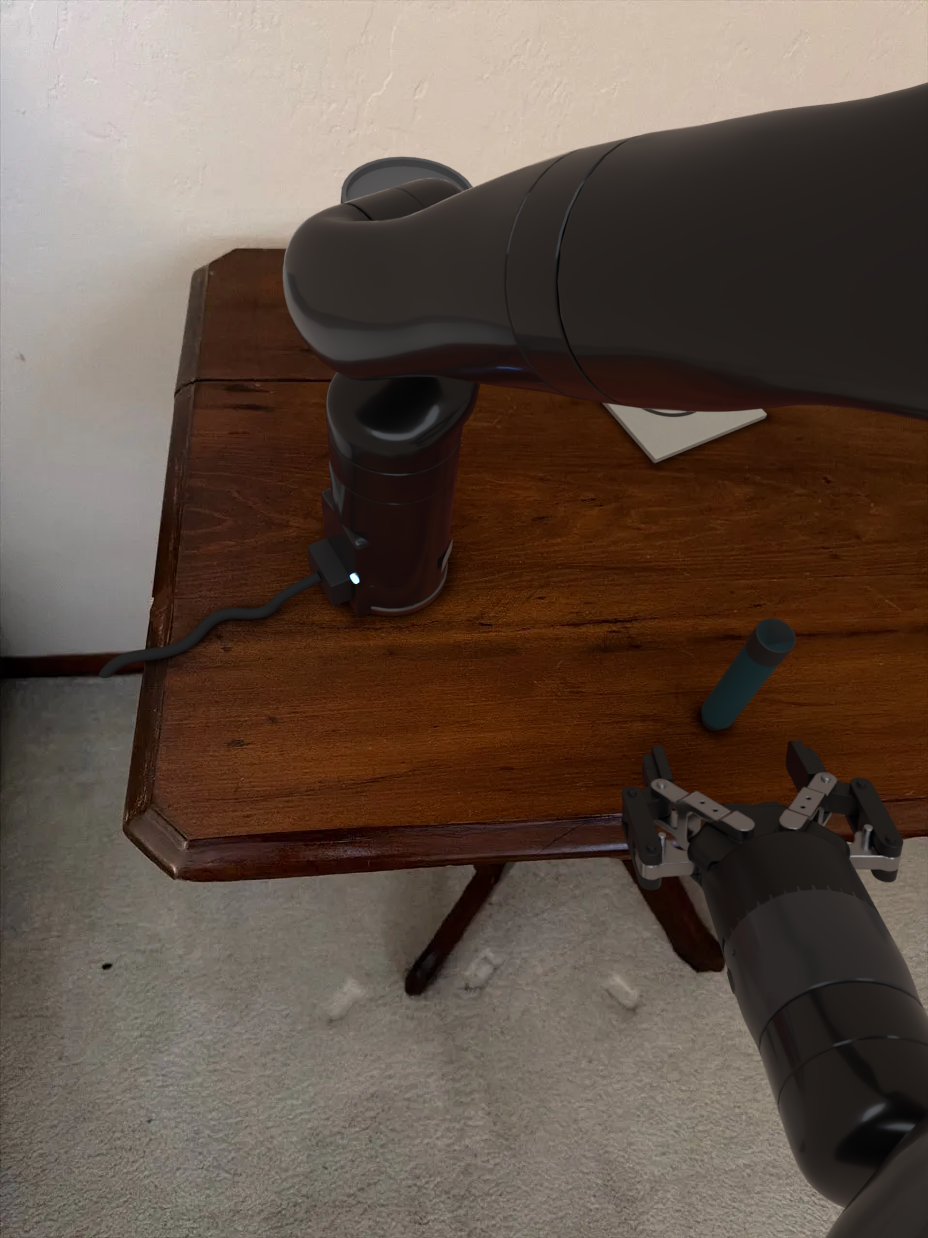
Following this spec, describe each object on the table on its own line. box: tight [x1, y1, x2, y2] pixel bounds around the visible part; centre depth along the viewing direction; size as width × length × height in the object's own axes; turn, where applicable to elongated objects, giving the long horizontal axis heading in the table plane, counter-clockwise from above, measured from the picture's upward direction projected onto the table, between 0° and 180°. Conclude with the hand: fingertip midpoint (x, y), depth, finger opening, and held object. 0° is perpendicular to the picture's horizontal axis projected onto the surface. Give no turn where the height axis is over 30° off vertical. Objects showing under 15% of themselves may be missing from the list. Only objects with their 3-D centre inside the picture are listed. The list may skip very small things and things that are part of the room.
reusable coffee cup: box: [339, 156, 474, 204], centre depth 84 cm, size 13×13×15 cm
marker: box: [700, 617, 797, 732], centre depth 64 cm, size 3×3×13 cm
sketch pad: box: [602, 403, 768, 464], centre depth 89 cm, size 14×16×1 cm
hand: (723, 754), depth 56 cm, fingers open, 8 cm apart
